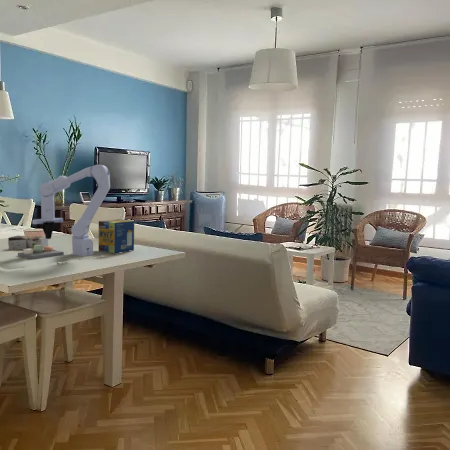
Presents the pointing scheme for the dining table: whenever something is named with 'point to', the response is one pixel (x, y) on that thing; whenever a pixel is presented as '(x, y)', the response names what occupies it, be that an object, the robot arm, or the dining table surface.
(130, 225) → the protein box
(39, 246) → the sage button
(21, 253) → the console
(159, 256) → the dining table surface
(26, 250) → the cream button
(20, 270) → the dining table surface
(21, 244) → the coffee box
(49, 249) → the terracotta button
